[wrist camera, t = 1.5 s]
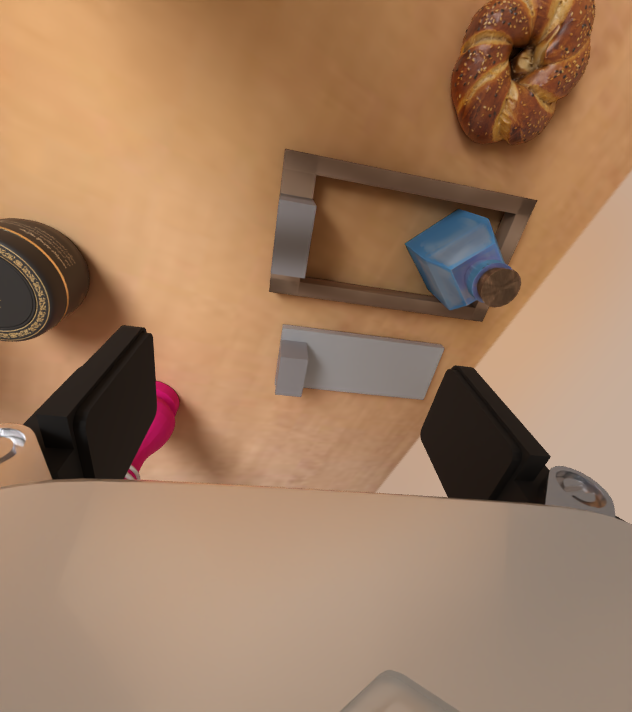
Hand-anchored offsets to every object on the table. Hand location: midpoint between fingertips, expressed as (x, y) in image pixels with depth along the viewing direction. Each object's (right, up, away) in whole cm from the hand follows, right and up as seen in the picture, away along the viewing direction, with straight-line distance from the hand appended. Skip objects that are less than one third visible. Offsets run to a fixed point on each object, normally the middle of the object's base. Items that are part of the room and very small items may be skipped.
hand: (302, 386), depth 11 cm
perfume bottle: (+14, +12, +27) cm, 33 cm away
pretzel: (+17, +26, +19) cm, 37 cm away
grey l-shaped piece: (+6, 0, +33) cm, 33 cm away
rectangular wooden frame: (+9, +13, +26) cm, 30 cm away
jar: (-27, +10, +24) cm, 38 cm away
